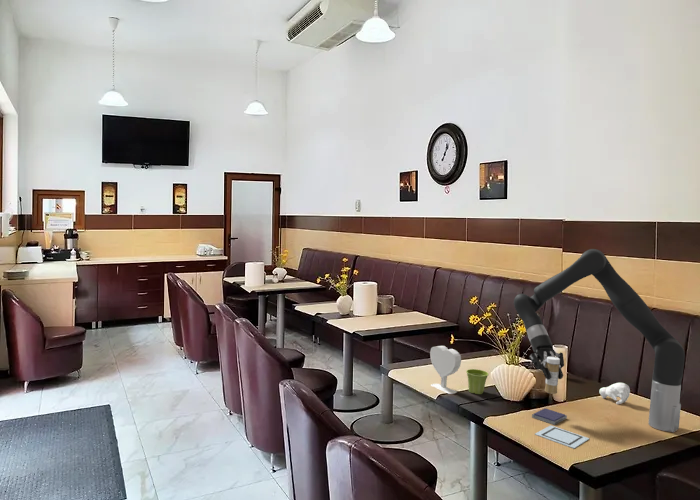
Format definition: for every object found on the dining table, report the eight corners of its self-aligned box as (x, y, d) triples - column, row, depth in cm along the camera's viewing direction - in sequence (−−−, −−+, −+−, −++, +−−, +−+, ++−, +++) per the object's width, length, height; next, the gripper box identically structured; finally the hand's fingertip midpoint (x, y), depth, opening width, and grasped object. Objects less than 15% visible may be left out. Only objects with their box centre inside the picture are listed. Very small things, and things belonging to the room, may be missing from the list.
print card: (589, 439, 185) (589, 438, 184) (574, 448, 176) (574, 447, 176) (550, 425, 195) (550, 424, 195) (534, 434, 186) (534, 433, 186)
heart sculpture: (460, 393, 226) (463, 351, 225) (451, 395, 223) (454, 353, 222) (435, 382, 239) (437, 343, 237) (427, 384, 236) (429, 344, 235)
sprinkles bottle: (547, 389, 205) (550, 355, 204) (559, 392, 202) (561, 357, 201) (542, 391, 202) (545, 357, 200) (554, 395, 199) (557, 360, 197)
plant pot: (479, 387, 234) (480, 368, 234) (491, 395, 225) (492, 375, 225) (460, 389, 231) (462, 369, 231) (472, 396, 222) (473, 376, 222)
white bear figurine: (624, 385, 218) (595, 380, 227) (624, 406, 218) (596, 400, 227) (631, 383, 221) (603, 377, 231) (632, 403, 221) (603, 397, 231)
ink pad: (566, 418, 203) (567, 414, 202) (554, 425, 196) (554, 421, 196) (544, 411, 209) (544, 407, 209) (531, 417, 202) (532, 413, 202)
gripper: (527, 334, 206) (543, 374, 195) (559, 333, 209) (576, 373, 198) (519, 343, 211) (533, 383, 200) (550, 343, 214) (566, 382, 204)
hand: (555, 378), depth 199 cm, fingers closed on sprinkles bottle, 4 cm apart
